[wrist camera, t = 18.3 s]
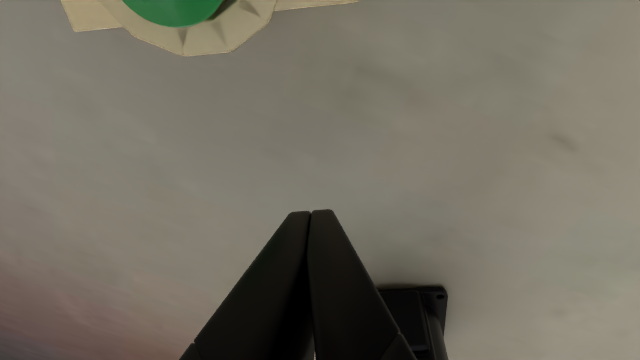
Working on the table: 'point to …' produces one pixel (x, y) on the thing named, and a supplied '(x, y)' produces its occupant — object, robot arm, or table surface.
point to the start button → (174, 11)
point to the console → (204, 38)
